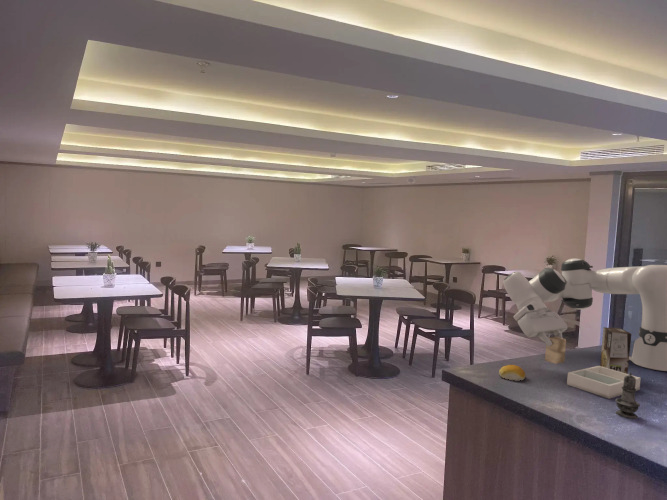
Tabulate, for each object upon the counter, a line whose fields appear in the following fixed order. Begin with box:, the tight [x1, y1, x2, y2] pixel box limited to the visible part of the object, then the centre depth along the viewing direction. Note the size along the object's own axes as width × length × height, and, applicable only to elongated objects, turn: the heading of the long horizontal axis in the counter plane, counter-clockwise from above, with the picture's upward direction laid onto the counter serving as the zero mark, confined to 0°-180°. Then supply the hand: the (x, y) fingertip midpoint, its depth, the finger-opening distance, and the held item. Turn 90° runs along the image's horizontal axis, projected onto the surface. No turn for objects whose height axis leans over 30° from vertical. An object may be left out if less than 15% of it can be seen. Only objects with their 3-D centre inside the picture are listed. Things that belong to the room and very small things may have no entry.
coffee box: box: [599, 326, 633, 374], centre depth 172 cm, size 9×6×16 cm
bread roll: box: [498, 364, 526, 382], centre depth 164 cm, size 8×9×4 cm
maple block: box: [544, 336, 567, 364], centre depth 167 cm, size 5×4×8 cm
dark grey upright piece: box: [615, 372, 641, 420], centre depth 135 cm, size 6×6×12 cm
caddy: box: [566, 365, 641, 400], centre depth 158 cm, size 18×14×4 cm
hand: (556, 344), depth 167 cm, fingers closed on maple block, 5 cm apart
